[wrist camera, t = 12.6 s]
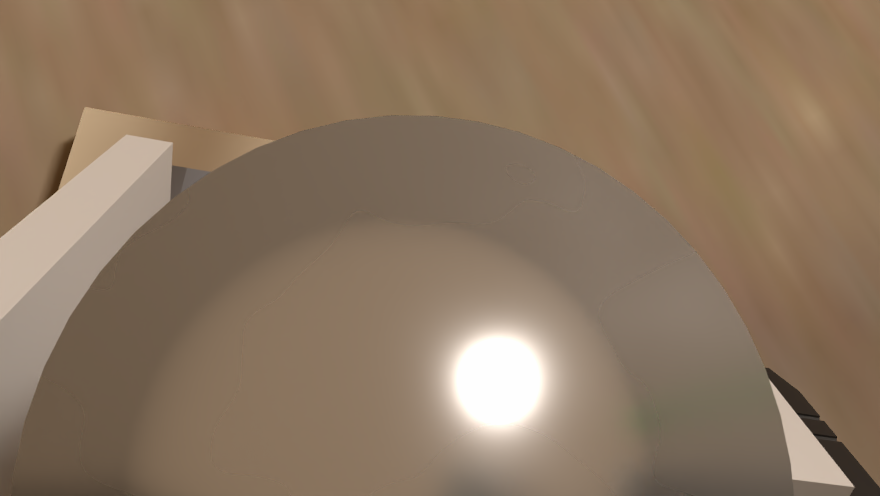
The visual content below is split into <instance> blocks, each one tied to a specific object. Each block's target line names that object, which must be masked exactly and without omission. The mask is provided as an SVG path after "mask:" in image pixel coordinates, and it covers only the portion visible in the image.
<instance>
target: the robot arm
mask: <svg viewBox="0 0 880 496" xmlns="http://www.w3.org/2000/svg"><path fill="white" fill-rule="evenodd" d="M172 152H173V143H172V142H166V141H161V140H155V139H149V138H143V137H138V136H132V135H125V136H124V137H123V138H121V139H120V140H119V141H118V142H117V143H115V144H114V145H113V146H112V147H111V148H109V149H108V150H107V151H106V152H104V153H103V154H102V155H101V156H100V157H98V158H97V159H96V160H95V161H93V162H92V163H91V164H90V165H89V166H87V167H86V168H85V169H84V170H83V171H81V172H80V173H79V174H78V175H76V176H75V177H74V178H73V179H72V180H70V181H69V182H68V183H67V184H66V185H64V186H63V187H62V188H61V189H59V190H58V191H57V192H56V193H55V194H53V195H52V196H51V197H50V198H49V199H47V200H46V201H45V202H44V203H42V204H41V205H40V206H39V207H38V208H36V209H35V210H34V211H33V212H31V213H30V214H29V215H28V216H27V217H25V218H24V219H23V220H22V221H21V222H19V223H18V224H17V225H16V226H14V227H13V228H12V229H11V230H10V231H8V232H7V233H6V234H5V235H4V236H2V237H1V238H0V496H10V495H11V482H12V478H13V473H14V468H15V463H16V459H17V454H18V449H19V445H20V440H21V435H22V430H23V426H24V422H25V419H26V416H27V414H28V411H29V408H30V405H31V402H32V399H33V397H34V394H35V391H36V388H37V385H38V382H39V380H40V377H41V374H42V371H43V368H44V366H45V364H46V362H47V360H48V358H49V356H50V354H51V352H52V350H53V349H54V347H55V345H56V343H57V341H58V339H59V337H60V335H61V333H62V331H63V329H64V327H65V325H66V323H67V321H68V319H69V317H70V316H71V314H72V313H73V311H74V310H75V308H76V307H77V305H78V304H79V302H80V301H81V299H82V298H83V296H84V295H85V293H86V292H87V290H88V289H89V287H90V286H91V284H92V283H93V282H94V280H95V279H96V277H97V276H98V274H99V273H100V271H101V270H102V269H103V268H104V267H105V266H106V264H107V263H108V262H109V261H110V260H111V259H112V258H113V257H114V255H115V254H116V253H117V252H118V251H119V250H120V249H121V247H122V246H123V245H124V244H125V243H126V242H127V241H128V239H129V238H130V237H131V236H132V235H133V234H134V233H135V232H136V231H137V230H138V229H139V228H140V227H141V226H142V225H143V224H145V223H146V222H147V221H148V220H149V219H150V218H151V217H152V216H154V215H155V214H156V213H157V212H158V211H159V210H160V209H161V208H163V207H164V206H165V205H166V204H167V203H168V202H169V201H170V194H171V173H172ZM765 369H766V372H767V375H768V378H769V381H770V384H771V387H772V390H773V393H774V396H775V400H776V403H777V406H778V409H779V412H780V415H781V419H782V424H783V429H784V434H785V438H786V443H787V448H788V453H789V457H790V462H791V472H792V482H793V492H794V496H880V488H879V486H878V485H877V484H876V483H875V482H874V480H873V479H872V478H871V477H870V476H869V474H868V473H867V472H866V471H865V470H864V468H863V467H862V466H861V465H860V464H859V462H858V461H857V460H856V459H855V458H854V456H853V455H852V454H851V453H850V452H849V450H848V449H847V448H846V447H845V446H844V444H843V443H842V442H837V436H836V435H835V434H834V433H833V431H832V430H831V429H830V428H829V427H828V425H827V424H826V423H825V422H824V421H820V420H819V417H820V416H819V415H818V413H817V412H816V411H815V410H814V409H813V407H812V406H811V405H810V404H809V403H808V401H807V400H806V399H805V398H804V397H803V395H802V394H801V393H800V392H799V391H798V390H797V389H795V388H794V387H793V386H791V385H790V384H789V383H788V382H786V381H785V380H784V379H782V378H781V377H780V376H778V375H777V374H776V373H774V372H773V371H772V370H770V369H769V368H765Z"/></svg>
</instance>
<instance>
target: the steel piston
mask: <svg viewBox="0 0 880 496" xmlns="http://www.w3.org/2000/svg"><path fill="white" fill-rule="evenodd" d="M10 496H794V492H793V482H792V472H791V462H790V457H789V453H788V448H787V443H786V438H785V434H784V429H783V424H782V419H781V415H780V412H779V409H778V406H777V403H776V400H775V396H774V393H773V390H772V387H771V384H770V381H769V378H768V375H767V372H766V369H765V367H764V365H763V363H762V360H761V358H760V356H759V354H758V351H757V349H756V347H755V345H754V343H753V340H752V338H751V336H750V334H749V331H748V329H747V327H746V326H745V324H744V322H743V320H742V319H741V317H740V315H739V314H738V312H737V310H736V309H735V307H734V305H733V303H732V302H731V300H730V298H729V297H728V295H727V293H726V292H725V290H724V288H723V287H722V286H721V284H720V283H719V281H718V280H717V279H716V277H715V276H714V275H713V273H712V272H711V271H710V269H709V268H708V267H707V265H706V264H705V263H704V261H703V260H702V259H701V257H700V256H699V255H698V253H697V252H696V251H695V250H694V249H693V248H692V247H691V246H690V245H689V244H688V242H687V241H686V240H685V239H684V238H683V237H682V236H681V235H680V234H679V233H678V232H677V231H676V230H675V229H674V227H673V226H672V225H671V224H670V223H669V222H668V221H667V220H666V219H665V218H664V217H662V216H661V215H660V214H659V213H658V212H657V211H655V210H654V209H653V208H652V207H651V206H650V205H648V204H647V203H646V202H645V201H644V200H643V199H641V198H640V197H639V196H638V195H637V194H636V193H634V192H633V191H632V190H630V189H629V188H627V187H626V186H624V185H623V184H621V183H620V182H618V181H617V180H615V179H614V178H612V177H611V176H610V175H608V174H607V173H605V172H604V171H602V170H601V169H599V168H598V167H596V166H594V165H592V164H590V163H588V162H586V161H584V160H582V159H581V158H579V157H577V156H575V155H573V154H571V153H569V152H567V151H565V150H563V149H561V148H559V147H557V146H554V145H552V144H549V143H546V142H544V141H541V140H539V139H536V138H533V137H531V136H528V135H525V134H523V133H520V132H517V131H513V130H509V129H505V128H501V127H497V126H493V125H489V124H485V123H481V122H477V121H469V120H462V119H454V118H446V117H439V116H382V117H373V118H364V119H355V120H346V121H342V122H337V123H333V124H329V125H325V126H320V127H316V128H312V129H308V130H304V131H300V132H297V133H295V134H292V135H289V136H287V137H284V138H281V139H279V140H276V141H273V142H270V143H268V144H265V145H262V146H260V147H257V148H255V149H253V150H251V151H249V152H248V153H246V154H244V155H242V156H240V157H238V158H236V159H234V160H232V161H230V162H228V163H226V164H224V165H222V166H220V167H219V168H217V169H215V170H213V171H212V172H210V173H209V174H207V175H206V176H204V177H203V178H202V179H200V180H199V181H197V182H196V183H194V184H193V185H191V186H190V187H188V188H187V189H186V190H184V191H183V192H181V193H180V194H178V195H177V196H175V197H174V198H173V199H172V200H170V201H169V202H168V203H167V204H166V205H165V206H164V207H163V208H161V209H160V210H159V211H158V212H157V213H156V214H155V215H154V216H152V217H151V218H150V219H149V220H148V221H147V222H146V223H145V224H143V225H142V226H141V227H140V228H139V229H138V230H137V231H136V232H135V233H134V234H133V235H132V236H131V237H130V238H129V239H128V241H127V242H126V243H125V244H124V245H123V246H122V247H121V249H120V250H119V251H118V252H117V253H116V254H115V255H114V257H113V258H112V259H111V260H110V261H109V262H108V263H107V264H106V266H105V267H104V268H103V269H102V270H101V271H100V273H99V274H98V276H97V277H96V279H95V280H94V282H93V283H92V284H91V286H90V287H89V289H88V290H87V292H86V293H85V295H84V296H83V298H82V299H81V301H80V302H79V304H78V305H77V307H76V308H75V310H74V311H73V313H72V314H71V316H70V317H69V319H68V321H67V323H66V325H65V327H64V329H63V331H62V333H61V335H60V337H59V339H58V341H57V343H56V345H55V347H54V349H53V350H52V352H51V354H50V356H49V358H48V360H47V362H46V364H45V366H44V368H43V371H42V374H41V377H40V380H39V382H38V385H37V388H36V391H35V394H34V397H33V399H32V402H31V405H30V408H29V411H28V414H27V416H26V419H25V422H24V426H23V430H22V435H21V440H20V445H19V449H18V454H17V459H16V463H15V468H14V473H13V478H12V482H11V495H10Z"/></svg>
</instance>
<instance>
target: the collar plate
mask: <svg viewBox="0 0 880 496" xmlns="http://www.w3.org/2000/svg"><path fill="white" fill-rule="evenodd" d="M125 135H132V136H138V137H143V138H149V139H155V140H161V141H166V142H172V143H173V152H172V173H171V194H170V200H172V199H173V198H174V197H175V196H177V195H178V194H180V193H181V192H183V191H184V190H186V189H187V188H188V187H190V186H191V185H193V184H194V183H196V182H197V181H199V180H200V179H202V178H203V177H204V176H206V175H207V174H209V173H210V172H212V171H213V170H215V169H217V168H219V167H220V166H222V165H224V164H226V163H228V162H230V161H232V160H234V159H236V158H238V157H240V156H242V155H244V154H246V153H248V152H249V151H251V150H253V149H255V148H257V147H260V146H262V145H265V144H268V143H270V142H273V140H267V139H262V138H256V137H250V136H245V135H239V134H234V133H228V132H222V131H217V130H211V129H205V128H200V127H194V126H189V125H183V124H177V123H172V122H166V121H160V120H155V119H149V118H144V117H138V116H132V115H127V114H121V113H115V112H110V111H104V110H99V109H93V108H87V107H85V108H84V111H83V114H82V117H81V121H80V124H79V127H78V130H77V133H76V136H75V139H74V142H73V145H72V149H71V152H70V155H69V158H68V161H67V164H66V167H65V170H64V173H63V176H62V180H61V183H60V186H59V189H61V188H62V187H63V186H64V185H66V184H67V183H68V182H69V181H70V180H72V179H73V178H74V177H75V176H76V175H78V174H79V173H80V172H81V171H83V170H84V169H85V168H86V167H87V166H89V165H90V164H91V163H92V162H93V161H95V160H96V159H97V158H98V157H100V156H101V155H102V154H103V153H104V152H106V151H107V150H108V149H109V148H111V147H112V146H113V145H114V144H115V143H117V142H118V141H119V140H120V139H121V138H123V137H124V136H125ZM59 189H58V190H59ZM653 209H654V210H655V208H653Z"/></svg>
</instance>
